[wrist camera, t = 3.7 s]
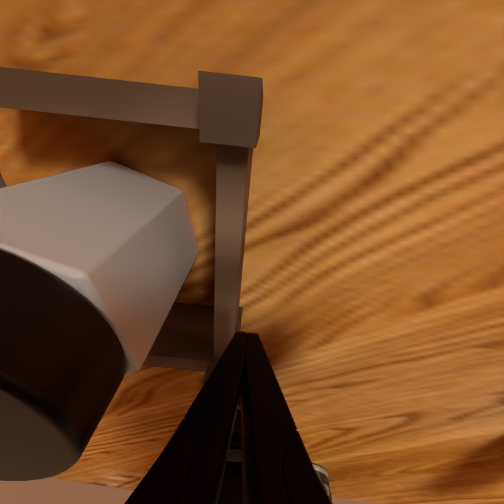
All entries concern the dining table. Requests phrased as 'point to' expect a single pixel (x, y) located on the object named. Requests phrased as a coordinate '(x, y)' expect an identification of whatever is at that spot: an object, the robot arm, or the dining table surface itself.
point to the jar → (80, 303)
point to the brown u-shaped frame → (227, 179)
